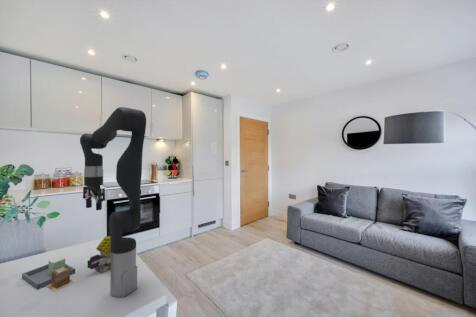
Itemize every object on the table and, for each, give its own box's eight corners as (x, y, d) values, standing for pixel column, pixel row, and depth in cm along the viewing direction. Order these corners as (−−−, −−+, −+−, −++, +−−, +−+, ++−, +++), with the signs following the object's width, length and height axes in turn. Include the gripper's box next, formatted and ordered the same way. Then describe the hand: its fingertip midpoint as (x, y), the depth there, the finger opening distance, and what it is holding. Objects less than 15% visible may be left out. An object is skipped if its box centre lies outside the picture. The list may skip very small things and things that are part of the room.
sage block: (65, 271, 94) (65, 258, 94) (53, 276, 90) (53, 263, 90) (60, 268, 96) (60, 256, 96) (48, 273, 92) (48, 260, 92)
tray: (75, 274, 93) (75, 268, 93) (37, 290, 81) (37, 284, 81) (58, 265, 100) (58, 260, 100) (22, 279, 89) (22, 273, 89)
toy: (82, 274, 93) (82, 242, 93) (110, 261, 105) (111, 233, 104) (93, 280, 89) (93, 247, 88) (122, 266, 100) (122, 236, 100)
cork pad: (74, 283, 87) (74, 281, 87) (53, 293, 80) (53, 291, 80) (66, 278, 90) (66, 277, 90) (46, 287, 83) (46, 286, 83)
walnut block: (69, 282, 86) (69, 268, 86) (56, 288, 82) (56, 274, 82) (64, 279, 88) (64, 266, 88) (51, 285, 84) (51, 271, 84)
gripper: (110, 175, 96) (110, 209, 96) (94, 174, 102) (93, 205, 103) (93, 177, 89) (93, 212, 89) (76, 175, 96) (76, 208, 96)
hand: (93, 208), depth 96 cm, fingers open, 8 cm apart
